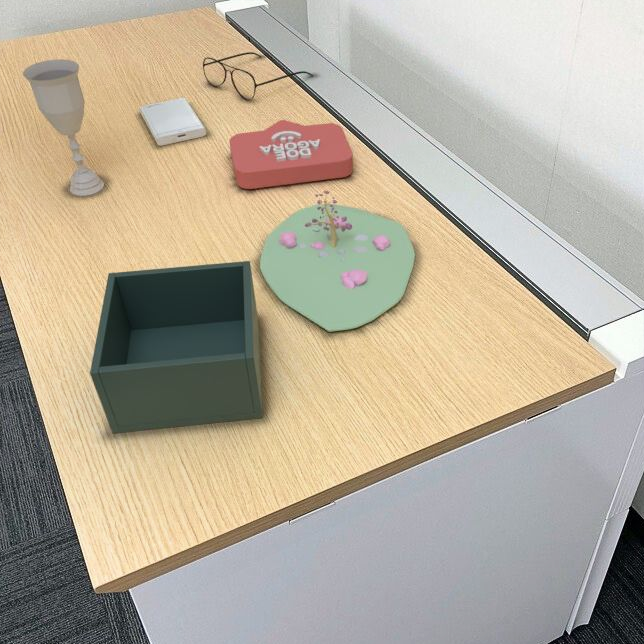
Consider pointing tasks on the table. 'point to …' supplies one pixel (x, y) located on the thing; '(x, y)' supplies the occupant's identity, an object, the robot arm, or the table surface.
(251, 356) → the tub
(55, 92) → the chalice
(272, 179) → the plaque
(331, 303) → the plant
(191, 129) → the hard drive
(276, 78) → the glasses
